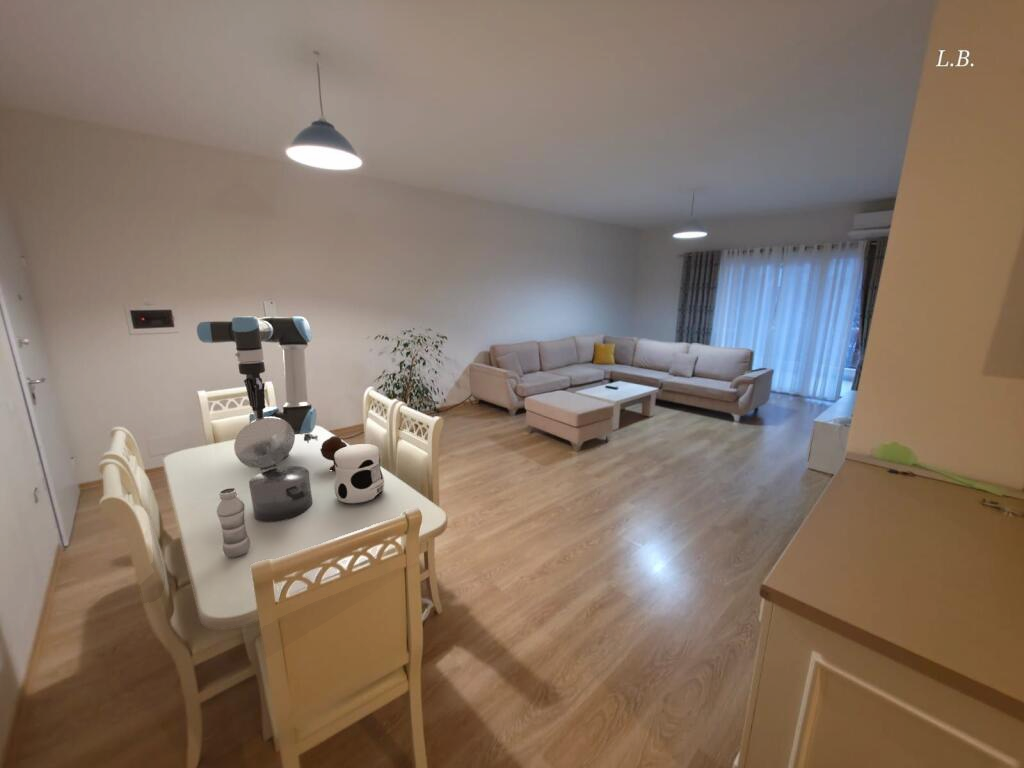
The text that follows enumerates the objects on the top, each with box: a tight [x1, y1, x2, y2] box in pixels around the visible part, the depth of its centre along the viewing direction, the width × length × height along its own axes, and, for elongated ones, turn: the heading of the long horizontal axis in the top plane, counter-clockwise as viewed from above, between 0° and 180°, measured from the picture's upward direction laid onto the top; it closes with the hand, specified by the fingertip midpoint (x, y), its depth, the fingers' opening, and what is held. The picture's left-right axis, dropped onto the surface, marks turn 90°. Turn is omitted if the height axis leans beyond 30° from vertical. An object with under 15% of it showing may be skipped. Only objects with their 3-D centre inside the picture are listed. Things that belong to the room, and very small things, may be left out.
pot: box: [248, 465, 313, 523], centre depth 139 cm, size 24×18×12 cm
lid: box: [233, 417, 296, 472], centre depth 144 cm, size 20×19×4 cm
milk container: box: [333, 443, 385, 505], centre depth 149 cm, size 17×17×18 cm
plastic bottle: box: [216, 487, 251, 558], centre depth 115 cm, size 6×7×20 cm
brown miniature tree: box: [319, 435, 348, 472], centre depth 173 cm, size 11×11×15 cm
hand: (260, 426), depth 144 cm, fingers closed
